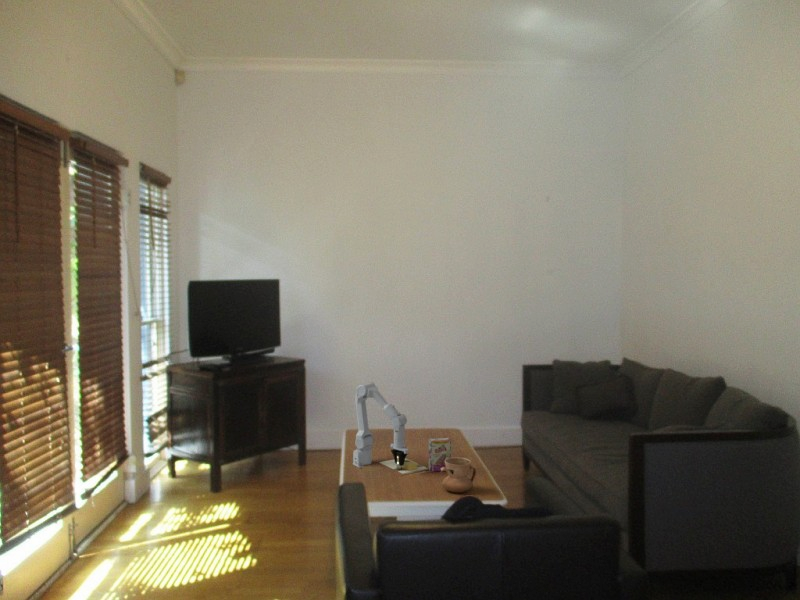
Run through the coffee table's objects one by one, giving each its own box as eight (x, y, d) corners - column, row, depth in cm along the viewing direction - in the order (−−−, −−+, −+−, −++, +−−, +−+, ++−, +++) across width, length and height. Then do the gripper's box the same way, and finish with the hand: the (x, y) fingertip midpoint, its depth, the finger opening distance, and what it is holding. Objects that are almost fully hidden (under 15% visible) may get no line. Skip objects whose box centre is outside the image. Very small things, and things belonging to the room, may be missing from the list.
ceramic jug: (444, 496, 313) (445, 466, 312) (435, 486, 327) (436, 457, 326) (481, 494, 317) (482, 464, 317) (471, 483, 331) (471, 455, 331)
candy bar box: (430, 472, 349) (430, 441, 349) (428, 469, 354) (428, 438, 353) (451, 471, 352) (451, 439, 351) (448, 468, 357) (448, 437, 356)
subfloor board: (402, 475, 345) (402, 473, 344) (378, 464, 365) (378, 462, 365) (428, 470, 353) (428, 468, 353) (404, 459, 373) (404, 457, 373)
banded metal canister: (398, 470, 350) (398, 456, 349) (395, 468, 352) (396, 455, 352) (403, 469, 351) (403, 456, 351) (400, 468, 354) (400, 454, 353)
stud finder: (408, 470, 349) (408, 464, 349) (399, 466, 357) (399, 460, 357) (417, 469, 352) (417, 463, 352) (407, 464, 360) (407, 459, 359)
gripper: (413, 440, 347) (413, 466, 348) (398, 434, 359) (398, 459, 360) (401, 442, 343) (401, 468, 344) (387, 436, 355) (387, 461, 356)
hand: (399, 464), depth 352 cm, fingers open, 4 cm apart
